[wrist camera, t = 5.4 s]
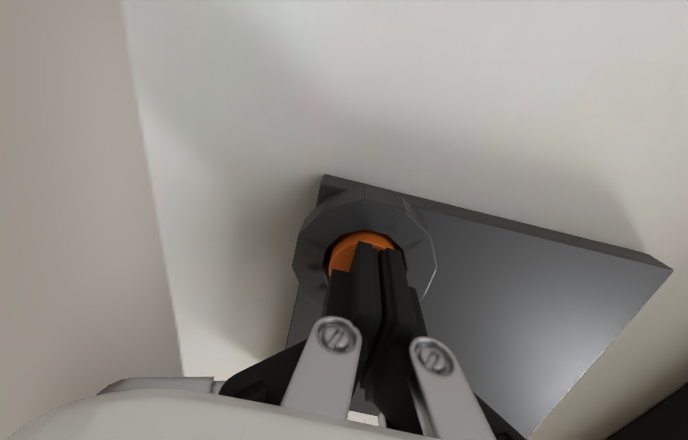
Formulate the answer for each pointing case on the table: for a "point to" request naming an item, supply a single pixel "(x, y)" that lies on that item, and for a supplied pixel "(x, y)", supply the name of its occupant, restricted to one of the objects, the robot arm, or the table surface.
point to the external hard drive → (661, 421)
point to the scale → (485, 292)
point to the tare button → (347, 245)
